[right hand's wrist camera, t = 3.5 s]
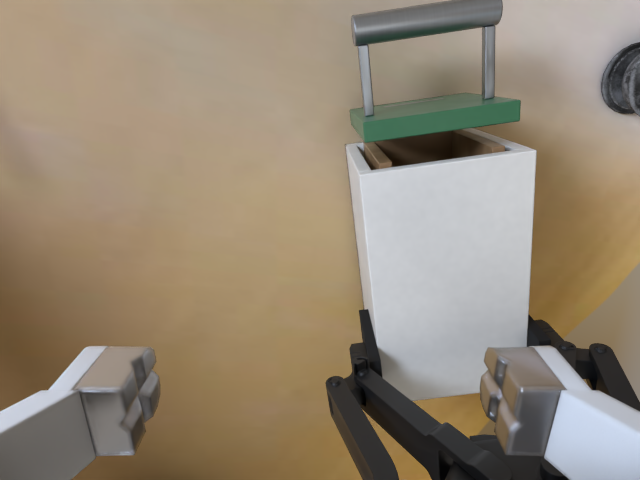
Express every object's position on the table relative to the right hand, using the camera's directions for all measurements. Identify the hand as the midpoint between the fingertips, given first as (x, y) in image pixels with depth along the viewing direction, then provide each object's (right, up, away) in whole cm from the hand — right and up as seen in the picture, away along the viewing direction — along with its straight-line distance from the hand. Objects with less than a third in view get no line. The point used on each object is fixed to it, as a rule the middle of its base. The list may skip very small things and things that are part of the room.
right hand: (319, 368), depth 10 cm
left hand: (+9, -3, +24) cm, 26 cm away
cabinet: (+8, +4, +28) cm, 29 cm away
